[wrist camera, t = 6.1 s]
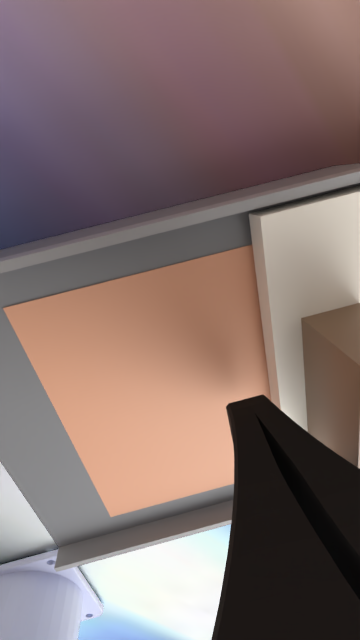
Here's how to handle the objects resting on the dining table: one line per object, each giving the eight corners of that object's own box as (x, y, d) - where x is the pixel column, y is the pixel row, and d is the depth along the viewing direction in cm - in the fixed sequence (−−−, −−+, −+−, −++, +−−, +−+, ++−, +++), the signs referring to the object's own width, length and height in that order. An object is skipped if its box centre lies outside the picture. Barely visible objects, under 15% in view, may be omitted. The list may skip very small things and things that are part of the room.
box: (73, 494, 18) (56, 571, 14) (-59, 264, 12) (-143, 298, 8) (336, 423, 18) (384, 481, 14) (334, 165, 12) (414, 157, 9)
